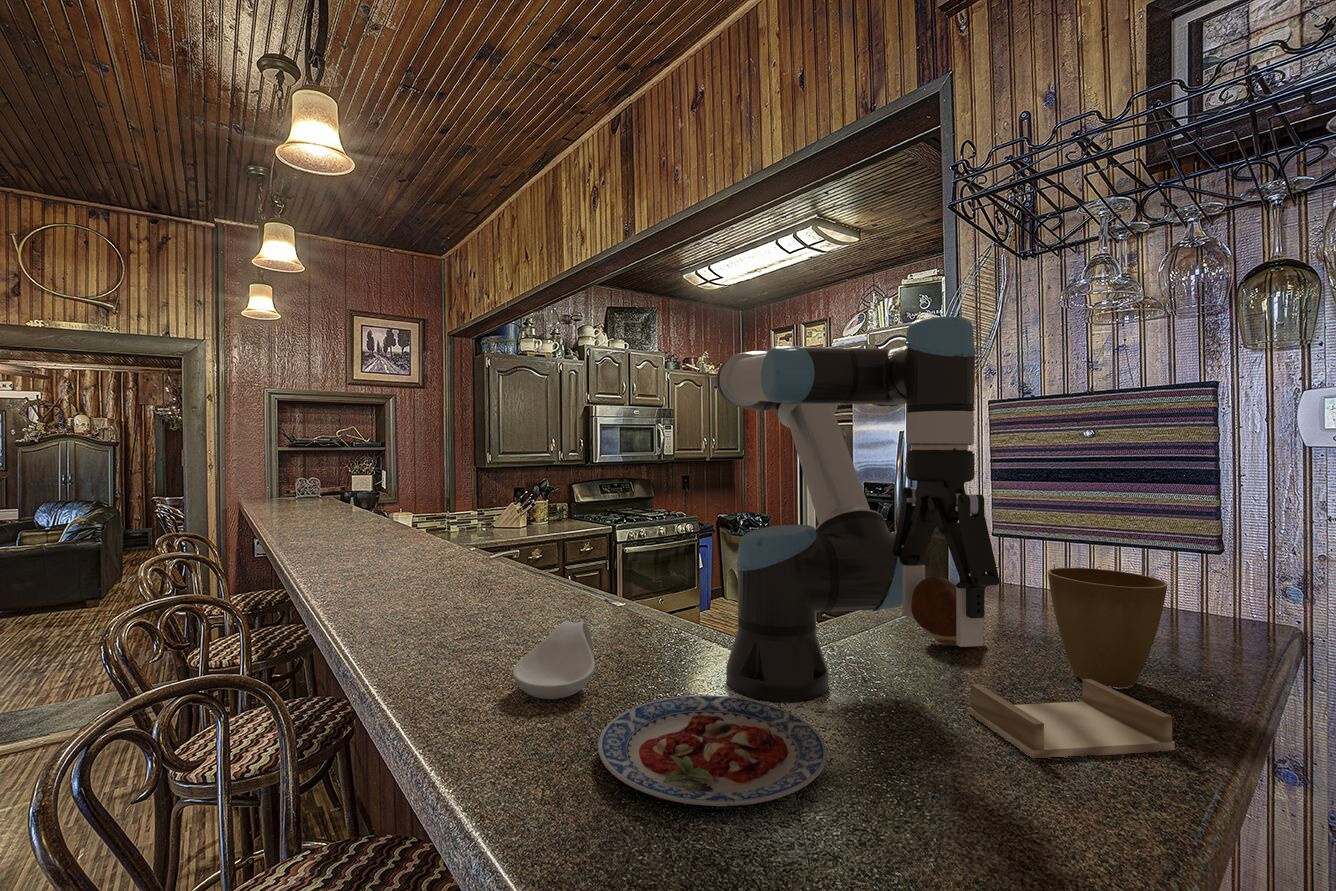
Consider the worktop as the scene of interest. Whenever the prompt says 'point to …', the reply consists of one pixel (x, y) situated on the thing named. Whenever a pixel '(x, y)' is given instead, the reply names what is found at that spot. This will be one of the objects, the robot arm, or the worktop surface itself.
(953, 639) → the pottery oil lamp
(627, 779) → the ceramic plate
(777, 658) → the robot arm
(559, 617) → the worktop surface
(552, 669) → the spoon rest
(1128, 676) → the plant pot
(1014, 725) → the tray
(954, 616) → the potato
